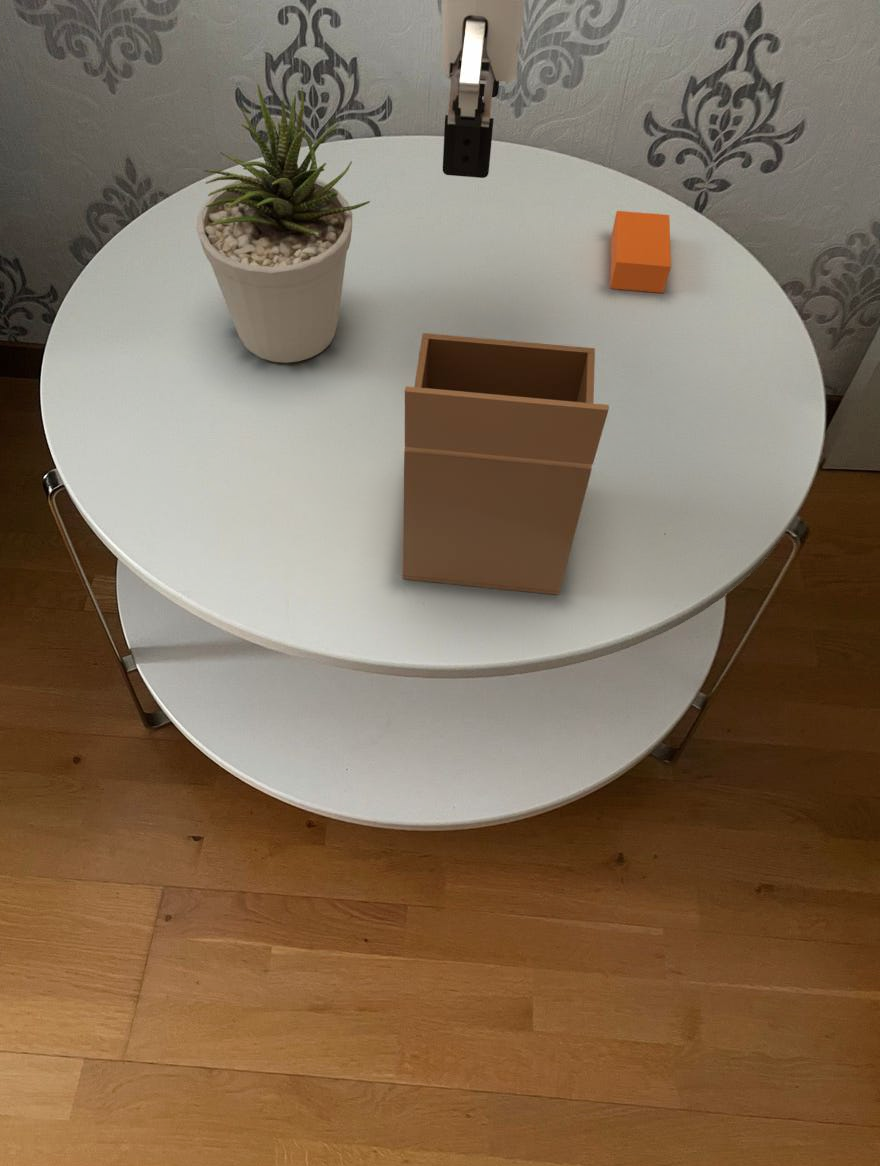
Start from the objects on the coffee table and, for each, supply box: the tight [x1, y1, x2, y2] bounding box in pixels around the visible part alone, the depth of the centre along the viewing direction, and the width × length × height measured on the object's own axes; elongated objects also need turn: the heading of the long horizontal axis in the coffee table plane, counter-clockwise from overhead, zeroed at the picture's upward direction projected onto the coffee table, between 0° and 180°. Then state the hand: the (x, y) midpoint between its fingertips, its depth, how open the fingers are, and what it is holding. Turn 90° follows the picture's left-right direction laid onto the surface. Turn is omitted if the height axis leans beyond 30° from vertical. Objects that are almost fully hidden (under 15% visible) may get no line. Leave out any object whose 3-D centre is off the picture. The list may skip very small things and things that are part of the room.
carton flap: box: [404, 385, 610, 466], centre depth 60 cm, size 12×5×1 cm
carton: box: [402, 332, 596, 596], centre depth 72 cm, size 12×11×14 cm
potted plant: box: [196, 82, 371, 364], centre depth 81 cm, size 13×14×20 cm
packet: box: [609, 210, 672, 294], centre depth 93 cm, size 8×5×3 cm, turn 173°
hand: (471, 132), depth 71 cm, fingers open, 9 cm apart
